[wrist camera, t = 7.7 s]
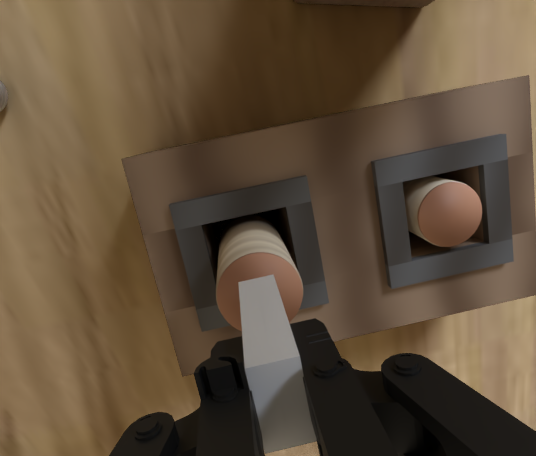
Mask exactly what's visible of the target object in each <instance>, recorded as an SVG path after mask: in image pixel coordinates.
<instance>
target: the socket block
mask: <svg viewBox="0 0 536 456" xmlns="http://www.w3.org/2000/svg"><path fill="white" fill-rule="evenodd" d="M121 160H122V163H123V167H124V170H125V174H126V177H127V181H128V184H129V188H130V192H131V195H132V199H133V202H134V206H135V209H136V213H137V217H138V220H139V224H140V227H141V231H142V234H143V238H144V241H145V245H146V249H147V252H148V256H149V259H150V263H151V266H152V270H153V273H154V277H155V281H156V284H157V288H158V291H159V295H160V298H161V302H162V305H163V309H164V313H165V316H166V320H167V323H168V327H169V330H170V334H171V337H172V341H173V345H174V348H175V352H176V355H177V359H178V362H179V366H180V369H181V373H182V377H183V376H187V375H191V374H194V372H195V369H196V367H198V366H199V365H200V364H201V363H202V362H203V361H205V360H207V359H209V358H210V355H211V350H212V348H213V347H214V345H215V344H216V343H217V342H218V341H222V340H226V339H231V338H235V337H239V336H242V331H240V330H238V329H236V328H235V327H233V326H232V325H230V324H229V323H228V322H227V321H226V319H225V318H224V317H223V315H222V314H221V312H220V310H219V308H218V305H217V301H216V283H217V269H218V256H219V245H218V241H217V237H216V232H215V228H214V224H213V222H218V221H222V220H227V219H232V218H236V217H241V216H246V215H250V214H255V213H260V212H264V211H269V210H274V209H276V214H277V219H278V224H279V229H280V235H281V238H282V240H283V242H284V244H285V246H286V248H287V250H288V252H289V254H290V256H291V258H292V260H293V262H294V264H295V266H296V268H297V270H298V272H299V275H300V277H301V280H302V284H303V298H302V303H301V306H300V308H299V311H298V312H297V314H296V316H295V317H294V318H293V319H292V320H291V321H290V322H289V324H292V323H296V322H300V321H305V320H309V319H314V318H316V319H317V320H319V321H321V322H323V323H324V324H325V326H326V328H327V330H328V332H329V334H330V336H331V339H332V340H333V342H334V341H339V340H343V339H347V338H352V337H356V336H360V335H365V334H369V333H373V332H378V331H382V330H386V329H391V328H395V327H399V326H404V325H408V324H412V323H417V322H421V321H425V320H430V319H434V318H438V317H443V316H447V315H451V314H456V313H460V312H464V311H469V310H473V309H477V308H482V307H486V306H490V305H495V304H499V303H503V302H508V301H512V300H516V299H521V298H525V297H529V296H534V295H536V217H535V195H534V172H533V150H532V128H531V105H530V83H529V75H528V76H522V77H517V78H512V79H506V80H501V81H495V82H490V83H485V84H479V85H474V86H468V87H463V88H458V89H453V90H448V91H443V92H438V93H433V94H428V95H423V96H419V97H414V98H409V99H404V100H399V101H394V102H389V103H385V104H380V105H375V106H370V107H365V108H360V109H355V110H350V111H346V112H341V113H336V114H331V115H326V116H321V117H316V118H312V119H307V120H302V121H297V122H292V123H287V124H282V125H277V126H273V127H268V128H263V129H258V130H253V131H248V132H243V133H239V134H234V135H229V136H224V137H219V138H214V139H209V140H204V141H200V142H195V143H190V144H185V145H180V146H175V147H170V148H166V149H161V150H156V151H151V152H146V153H143V154H139V155H135V156H131V157H127V158H124V159H121ZM427 176H435V177H440V178H444V179H449V180H453V181H458V182H462V183H464V184H466V185H468V186H470V187H471V188H472V189H473V190H474V191H475V192H476V193H477V195H478V196H479V198H480V201H481V204H482V217H481V221H480V224H479V226H478V228H477V230H476V231H475V233H474V234H473V235H472V236H471V237H470V238H469V239H467V240H466V241H465V242H463V243H461V244H459V245H456V246H451V247H442V246H437V245H434V244H432V243H430V242H428V241H426V240H424V239H423V238H421V237H419V236H417V235H415V234H414V233H412V232H410V231H408V224H407V216H406V207H405V199H404V191H403V183H402V182H404V181H409V180H413V179H418V178H423V177H427Z"/></svg>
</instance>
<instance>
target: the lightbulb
mask: <svg viewBox="0 0 536 456" xmlns="http://www.w3.org/2000/svg"><path fill="white" fill-rule="evenodd" d="M7 101H8V93H7V89H6V87H5V85H4V84H3V83H2V82H1V81H0V112H1V111H2V110H3V109H4V108H5V106H6V104H7Z"/></svg>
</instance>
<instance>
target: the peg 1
mask: <svg viewBox="0 0 536 456" xmlns="http://www.w3.org/2000/svg"><path fill="white" fill-rule="evenodd" d="M273 274H274V278H275V281H276V284H277V287H278V290H279V293H280V296H281V299H282V302H283V305H284V309H285V312H286V315H287V318H288V321H289V322H290V321H291V320H292V319H293V318H294V317H295V316H296V314H297V312H298V311H299V308H300V306H301V303H302V298H303V284H302V280H301V277H300V275H299V272H298V270H297V268H296V266H295V264H294V262H293V260H292V258H291V256H290V254H289V252H288V250H287V248H286V246H285V244H284V242H283V240H282V238H281V236H280V234H279V232H278V231H277V229H276V227H275V226H274V225H273V224H272V223H271V222H270V221H268V220H267V219H265V218H263V217H260V216H256V215H246V216H241V217H238V218H236V219H234V220H233V221H231V222H230V223H229V224H228V225H227V226H226V227H225V229H224V230H223V232H222V234H221V237H220V243H219V256H218V269H217V283H216V301H217V305H218V308H219V310H220V312H221V314H222V315H223V317H224V318H225V319H226V321H227V322H228V323H229V324H230V325H232V326H233V327H235V328H236V329H238V330H240V331H242V325H241V312H240V298H239V284H238V282H241V281H246V280H250V279H255V278H259V277H264V276H268V275H273Z"/></svg>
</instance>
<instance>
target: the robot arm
mask: <svg viewBox="0 0 536 456" xmlns="http://www.w3.org/2000/svg"><path fill="white" fill-rule="evenodd" d="M238 284H239V298H240V312H241V325H242V336H239V337H235V338H231V339H226V340H222V341H218V342H217V343H216V344H215V345H214V347H213V348H212V350H211V355H210V358H209V359H207V360H205V361H203V362H202V363H201V364H200V365H199V366H198V367H196V369H195V372H194V376H195V380H196V384H197V387H198V391H199V395H200V398H201V404H200V407H199V408H198V409H197V410H196V411H194V412H193V413H191V414H189V415H188V416H186V417H184V418H181V419H179V420H177V421H175V422H174V419H173V417H172V416H171V415H170V414H168V413H163V412H157V413H152V414H148V415H145V416H143V417H141V418H139V419H138V420H136V421H135V422H134V423H132V424H131V425H130V426H129V427H128V428H127V429H126V431H125V432H124V433H123V435H122V436H121V438H120V440H119V441H118V443H117V444H116V446H115V447H114V449H113V451H112V452H111V454H110V455H109V456H265V454H266V453H270V452H274V451H278V450H283V449H287V448H291V447H295V446H299V445H303V444H307V443H311V442H316V441H317V444H318V449H319V454H320V456H536V431H534V430H533V429H531V428H530V427H528V426H527V425H525V424H524V423H522V422H521V421H519V420H518V419H517V418H515V417H514V416H512V415H511V414H509V413H508V412H506V411H505V410H503V409H502V408H500V407H499V406H497V405H496V404H494V403H493V402H491V401H490V400H488V399H487V398H485V397H484V396H482V395H481V394H480V393H478V392H477V391H475V390H474V389H472V388H471V387H469V386H468V385H466V384H465V383H463V382H462V381H460V380H459V379H457V378H456V377H454V376H453V375H451V374H450V373H448V372H447V371H445V370H444V369H443V368H441V367H440V366H438V365H437V364H435V363H434V362H432V361H431V360H429V359H428V358H425V357H423V356H421V355H417V354H412V353H402V354H397V355H393V356H391V357H389V358H388V359H386V360H385V361H384V362H383V364H382V365H381V371H373V372H369V371H359V370H355V369H353V368H352V367H351V365H350V364H349V363H348V361H347V360H345V359H342V358H341V356H340V354H339V352H338V350H337V348H336V346H335V344H334V342H333V340H332V339H331V336H330V334H329V332H328V330H327V328H326V326H325V324H324V323H323V322H321V321H319V320H317V319H316V318H314V319H309V320H305V321H300V322H296V323H292V324H289V321H288V318H287V315H286V312H285V309H284V305H283V302H282V299H281V296H280V293H279V290H278V287H277V284H276V281H275V278H274V274H273V275H268V276H264V277H259V278H255V279H250V280H246V281H241V282H238ZM264 452H265V454H264Z"/></svg>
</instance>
